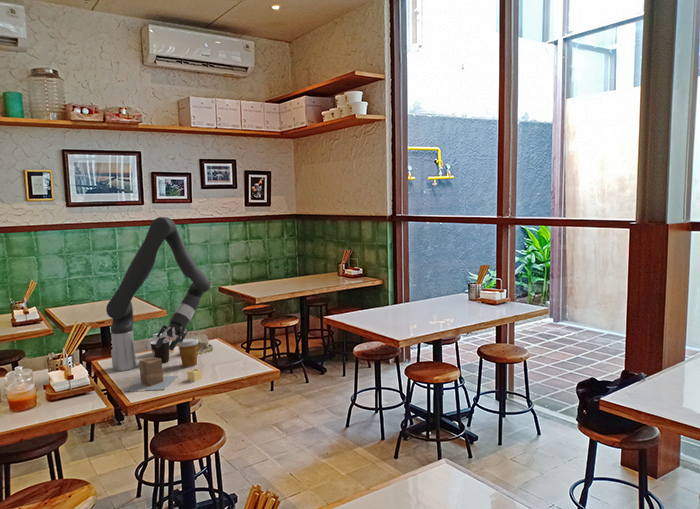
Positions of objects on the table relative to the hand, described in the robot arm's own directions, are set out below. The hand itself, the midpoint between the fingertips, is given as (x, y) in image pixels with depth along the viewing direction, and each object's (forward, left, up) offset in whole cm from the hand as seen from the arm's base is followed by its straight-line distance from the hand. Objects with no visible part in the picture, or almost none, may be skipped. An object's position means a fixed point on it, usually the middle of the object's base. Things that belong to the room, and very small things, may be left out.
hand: (163, 348), depth 224 cm
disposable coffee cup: (+4, +18, -13) cm, 23 cm away
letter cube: (+13, -3, -13) cm, 19 cm away
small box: (-16, +40, -13) cm, 45 cm away
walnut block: (-4, -6, -13) cm, 15 cm away
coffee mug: (-12, +26, -13) cm, 31 cm away
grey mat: (-4, -6, -13) cm, 15 cm away
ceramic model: (+2, +39, -14) cm, 42 cm away
